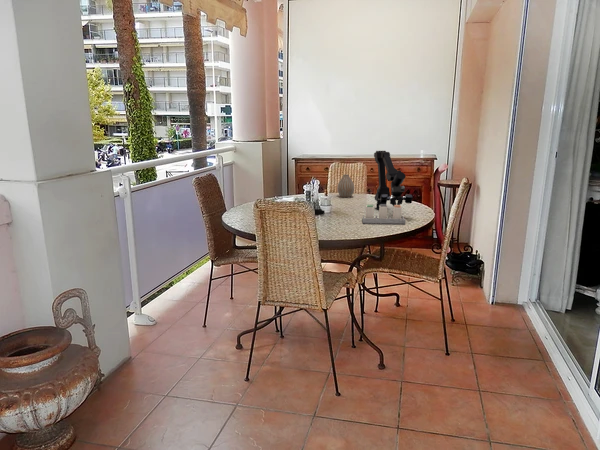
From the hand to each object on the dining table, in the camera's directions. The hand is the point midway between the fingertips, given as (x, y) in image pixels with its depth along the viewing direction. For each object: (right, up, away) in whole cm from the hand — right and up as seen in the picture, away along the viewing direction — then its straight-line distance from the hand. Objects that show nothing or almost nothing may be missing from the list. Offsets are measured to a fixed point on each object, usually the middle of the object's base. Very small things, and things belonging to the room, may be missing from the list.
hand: (396, 210), depth 260 cm
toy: (-58, -3, +23) cm, 62 cm away
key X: (-8, -6, +2) cm, 10 cm away
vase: (-22, +13, +83) cm, 87 cm away
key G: (-16, -7, +1) cm, 17 cm away
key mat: (-8, -7, 0) cm, 11 cm away
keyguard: (-8, -6, -1) cm, 11 cm away
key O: (0, -7, -1) cm, 7 cm away
